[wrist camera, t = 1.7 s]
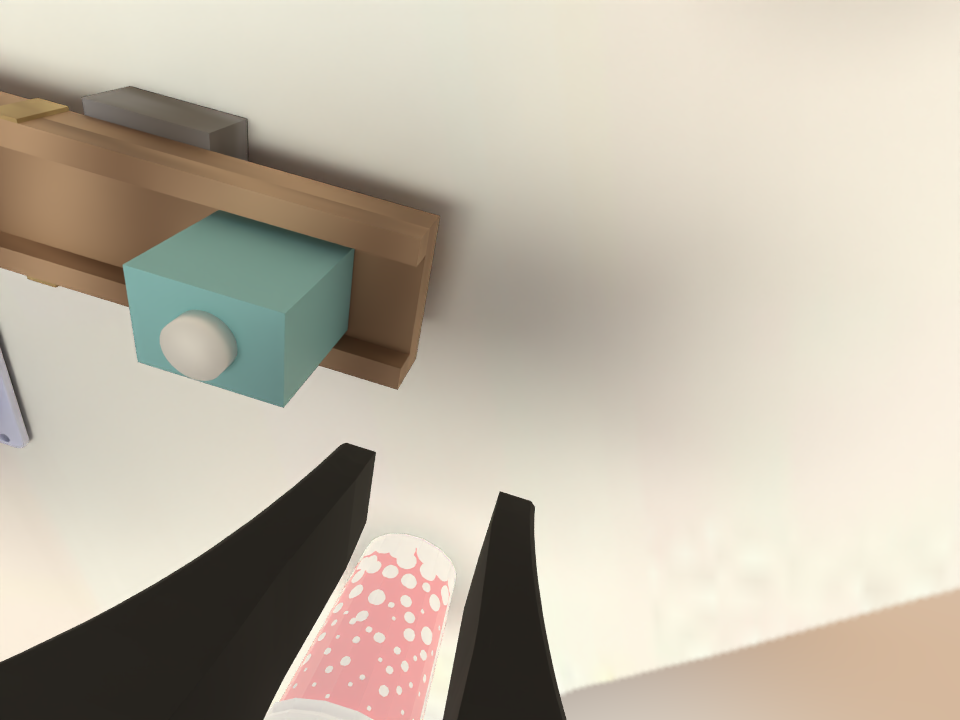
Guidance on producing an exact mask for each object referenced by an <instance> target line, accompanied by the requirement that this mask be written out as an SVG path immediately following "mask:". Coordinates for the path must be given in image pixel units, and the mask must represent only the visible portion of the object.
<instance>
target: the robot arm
mask: <svg viewBox="0 0 960 720" xmlns="http://www.w3.org/2000/svg"><path fill="white" fill-rule="evenodd" d="M0 442H1V443H4V444H7V445H10V446H13V447H16V448H23V447H24V446H26V445H27V444H28V443H29V437H28V434H27V431H26V428H25V425H24V421H23V418H22V415H21V412H20V409H19V406H18V402H17V399H16V396H15V393H14V390H13V386H12V383H11V380H10V377H9V374H8V371H7V367H6V364H5V361H4V358H3V355H2V352H1V348H0ZM375 455H376V452H374V451H371V450H368V449H364V448H361V447H358V446H355V445H352V444H349V443H344V444H342V445H340V446H339V447H338V448H337V449H336V450H335V451H334V452H333V453H332V454H330V455H329V456H328V457H327V458H326V459H325V460H324V461H323V462H322V463H321V464H319V465H318V466H317V467H316V468H315V469H314V470H313V471H311V472H310V473H309V474H308V475H307V476H306V477H304V478H303V479H302V480H301V481H300V482H299V483H297V484H296V485H295V486H294V487H293V488H291V489H290V490H289V491H288V492H286V493H285V494H284V495H283V496H281V497H280V498H279V499H278V500H276V501H275V502H274V503H272V504H271V505H270V506H269V507H267V508H266V509H265V510H264V511H262V512H261V513H260V514H258V515H257V516H256V517H254V518H253V519H252V520H250V521H249V522H248V523H246V524H245V525H243V526H242V527H241V528H239V529H238V530H236V531H235V532H234V533H232V534H231V535H229V536H228V537H227V538H225V539H224V540H222V541H221V542H220V543H218V544H217V545H215V546H214V547H212V548H211V549H209V550H208V551H206V552H205V553H203V554H202V555H200V556H199V557H197V558H196V559H194V560H193V561H191V562H190V563H188V564H186V565H185V566H183V567H182V568H180V569H178V570H177V571H175V572H173V573H172V574H170V575H169V576H167V577H165V578H164V579H162V580H160V581H159V582H157V583H155V584H154V585H152V586H150V587H148V588H147V589H145V590H143V591H141V592H139V593H138V594H136V595H134V596H132V597H131V598H129V599H127V600H125V601H123V602H122V603H120V604H118V605H116V606H115V607H113V608H111V609H109V610H107V611H105V612H103V613H101V614H99V615H98V616H96V617H94V618H92V619H90V620H88V621H86V622H84V623H82V624H80V625H78V626H76V627H74V628H72V629H69V630H67V631H65V632H63V633H61V634H59V635H57V636H55V637H53V638H51V639H49V640H47V641H45V642H43V643H40V644H38V645H36V646H34V647H32V648H30V649H28V650H26V651H24V652H22V653H20V654H17V655H15V656H13V657H11V658H9V659H6V660H4V661H2V662H0V720H264V718H265V715H266V713H267V711H268V709H269V707H270V705H271V702H272V700H273V698H274V696H275V694H276V692H277V691H278V689H279V687H280V685H281V683H282V681H283V679H284V677H285V675H286V673H287V672H288V670H289V668H290V666H291V665H292V663H293V661H294V659H295V658H296V656H297V654H298V652H299V651H300V649H301V647H302V645H303V644H304V642H305V640H306V638H307V637H308V635H309V633H310V631H311V630H312V628H313V626H314V624H315V623H316V621H317V619H318V617H319V616H320V614H321V612H322V610H323V609H324V607H325V605H326V603H327V602H328V600H329V598H330V596H331V594H332V593H333V591H334V589H335V587H336V586H337V584H338V582H339V580H340V578H341V577H342V575H343V573H344V571H345V570H346V567H347V565H348V563H349V561H350V558H351V556H352V554H353V551H354V549H355V547H356V545H357V542H358V540H359V538H360V535H361V533H362V530H363V528H364V526H365V523H366V520H367V513H368V506H369V498H370V491H371V484H372V477H373V469H374V462H375ZM534 513H535V507H534V505H533V503H532V502H531V501H529V500H526V499H522V498H519V497H516V496H513V495H510V494H507V493H503V492H499V496H498V499H497V502H496V505H495V508H494V511H493V514H492V518H491V521H490V524H489V527H488V530H487V533H486V536H485V540H484V543H483V546H482V549H481V552H480V555H479V558H478V562H477V565H476V569H475V572H474V576H473V579H472V583H471V586H470V590H469V593H468V597H467V600H466V604H465V607H464V612H463V617H462V622H461V627H460V632H459V638H458V643H457V648H456V653H455V659H454V664H453V669H452V674H451V680H450V685H449V690H448V696H447V701H446V706H445V711H444V717H443V720H566V716H565V712H564V709H563V705H562V702H561V698H560V694H559V690H558V686H557V682H556V677H555V673H554V669H553V664H552V659H551V654H550V650H549V645H548V640H547V635H546V629H545V624H544V618H543V612H542V605H541V598H540V591H539V585H538V576H537V567H536V555H535V540H534Z"/></svg>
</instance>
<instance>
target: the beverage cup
mask: <svg viewBox="0 0 960 720" xmlns="http://www.w3.org/2000/svg"><path fill="white" fill-rule="evenodd" d="M456 575H457V574H456V571H455V568H454V566H453V563H452V561H451V560H450V559H449V558H448V557H447V556H446V555H445V553H444V552H443V551H442V550H441V549H440V548H438V547H436V546H435V545H433V544H431V543H430V542H428V541H426V540H424V539H422V538H418V537H415V536H411V535H408V534H385V535H382V536H380V537H377V538H375V539H373V541H372V542H371V543H370V544H369V545H368V547H367V548H366V550H365V551H364V553H363V555H362V557H361V559H360V560H359V562H358V564H357V566H356V567H355V569H354V571H353V573H352V574H351V576H350V578H349V580H348V581H347V583H346V585H345V587H344V589H343V590H342V592H341V594H340V596H339V597H338V599H337V601H336V603H335V604H334V606H333V608H332V610H331V611H330V613H329V615H328V617H327V619H326V620H325V622H324V624H323V626H322V627H321V629H320V631H319V633H318V634H317V636H316V638H315V640H314V641H313V643H312V645H311V647H310V649H309V650H308V652H307V654H306V656H305V657H304V659H303V661H302V663H301V664H300V666H299V668H298V670H297V671H296V673H295V675H294V677H293V679H292V680H291V682H290V684H289V686H288V687H287V689H286V691H285V693H284V694H283V696H282V698H281V700H280V701H279V702H275V703H274V704H273V705H272V706H271V708H270V709H269V710H268V711H267V713H266V715H265V718H264V720H423V717H424V713H425V709H426V705H427V700H428V696H429V692H430V687H431V683H432V679H433V675H434V670H435V666H436V662H437V658H438V653H439V649H440V645H441V641H442V636H443V632H444V628H445V624H446V619H447V615H448V611H449V607H450V602H451V598H452V594H453V589H454V585H455V580H456Z"/></svg>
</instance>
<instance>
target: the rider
mask: <svg viewBox="0 0 960 720" xmlns="http://www.w3.org/2000/svg"><path fill="white" fill-rule="evenodd" d="M354 250H355V249H353V248H349V247H346V246H342V245H339V244H336V243H332V242H329V241H325V240H322V239H318V238H315V237H311V236H308V235H305V234H301V233H298V232H294V231H291V230H287V229H284V228H281V227H277V226H274V225H270V224H267V223H263V222H260V221H256V220H253V219H250V218H246V217H243V216H239V215H236V214H232V213H229V212H226V211H222V210H218V211H216V212H214V213H213V214H211V215H209V216H207V217H206V218H204V219H202V220H200V221H199V222H197V223H195V224H193V225H191V226H190V227H188V228H186V229H184V230H183V231H181V232H179V233H177V234H176V235H174V236H172V237H170V238H169V239H167V240H165V241H163V242H162V243H160V244H158V245H156V246H154V247H153V248H151V249H149V250H147V251H146V252H144V253H142V254H140V255H139V256H137V257H135V258H133V259H132V260H130V261H128V262H126V263H125V264H123V271H124V277H125V283H126V290H127V296H128V302H129V309H130V315H131V321H132V328H133V334H134V340H135V347H136V353H137V359H138V362H140V363H143V364H146V365H149V366H153V367H156V368H159V369H162V370H165V371H169V372H172V373H175V374H178V375H181V376H184V377H188V378H191V379H194V380H197V381H200V382H203V383H207V384H210V385H213V386H216V387H219V388H223V389H226V390H229V391H232V392H235V393H238V394H242V395H245V396H248V397H251V398H254V399H258V400H261V401H264V402H267V403H270V404H273V405H277V406H280V407H283V408H284V407H285V405H286V404H287V403H288V402H289V401H290V399H291V398H292V397H293V396H294V394H295V393H296V392H297V391H298V390H299V388H300V387H301V386H302V385H303V383H304V382H305V381H306V380H307V379H308V377H309V376H310V375H311V374H312V373H313V371H314V370H315V369H316V368H317V366H318V365H319V364H320V363H321V362H322V360H323V359H324V358H325V357H326V355H327V354H328V353H329V352H330V351H331V349H332V348H333V347H334V346H335V344H336V343H337V342H338V341H339V340H340V338H341V337H342V336H343V335H344V334H345V332H346V331H347V330H348V319H349V308H350V296H351V285H352V273H353V261H354Z"/></svg>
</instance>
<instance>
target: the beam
mask: <svg viewBox="0 0 960 720" xmlns="http://www.w3.org/2000/svg"><path fill="white" fill-rule="evenodd" d="M82 103H83V108H84V114H85V115H83V114H79V113H76V112H72V111H69V107H68V106H65V105H61V104H58V103H54V102H51V101H47V100H44V99H40V98H34V99H26V98H23V97H19V96H16V95H12V94H9V93H5V92H1V91H0V268H4V269H7V270H10V271H13V272H17V273H20V274H23V275H26V276H27V278H28V279H29V280H33V281H36V282H39V283H42V284H46V285H49V286H52V287H55V288H56V287H58V286H62V287H65V288H69V289H72V290H75V291H78V292H82V293H85V294H88V295H91V296H95V297H98V298H101V299H104V300H108V301H111V302H114V303H117V304H121V305H124V306H127V307H129V302H128V296H127V290H126V283H125V277H124V271H123V264H125V263H126V262H128V261H130V260H132V259H133V258H135V257H137V256H139V255H140V254H142V253H144V252H146V251H147V250H149V249H151V248H153V247H154V246H156V245H158V244H160V243H162V242H163V241H165V240H167V239H169V238H170V237H172V236H174V235H176V234H177V233H179V232H181V231H183V230H184V229H186V228H188V227H190V226H191V225H193V224H195V223H197V222H199V221H200V220H202V219H204V218H206V217H207V216H209V215H211V214H213V213H214V212H216V211H218V210H222V211H226V212H229V213H232V214H236V215H239V216H243V217H246V218H250V219H253V220H256V221H260V222H263V223H267V224H270V225H274V226H277V227H281V228H284V229H287V230H291V231H294V232H298V233H301V234H305V235H308V236H311V237H315V238H318V239H322V240H325V241H329V242H332V243H336V244H339V245H342V246H346V247H349V248H353V249H355V250H354V261H353V273H352V285H351V296H350V308H349V319H348V330H347V331H346V332H345V334H344V335H343V336H342V337H341V338H340V340H339V341H338V342H337V343H336V344H335V346H334V347H333V348H332V349H331V351H330V352H329V353H328V354H327V355H326V357H325V358H324V359H323V360H322V362H321V363H320V364H319V366H322V367H325V368H329V369H332V370H335V371H338V372H342V373H345V374H348V375H351V376H355V377H358V378H361V379H364V380H368V381H371V382H374V383H378V384H381V385H384V386H387V387H391V388H394V389H397V390H398V388H399V387H400V385H401V383H402V381H403V380H404V378H405V376H406V375H407V373H408V371H409V369H410V368H411V366H412V364H413V363H414V361H415V359H416V355H417V349H418V343H419V338H420V332H421V326H422V320H423V314H424V308H425V302H426V296H427V290H428V285H429V279H430V273H431V267H432V261H433V255H434V249H435V243H436V237H437V232H438V226H439V220H440V216H439V215H435V214H432V213H428V212H424V211H421V210H417V209H414V208H410V207H407V206H403V205H400V204H396V203H393V202H389V201H386V200H382V199H379V198H375V197H372V196H368V195H365V194H361V193H358V192H354V191H350V190H347V189H343V188H340V187H336V186H333V185H329V184H326V183H322V182H319V181H315V180H312V179H308V178H305V177H301V176H298V175H294V174H291V173H287V172H283V171H280V170H276V169H273V168H269V167H266V166H262V165H259V164H255V163H252V162H248V146H247V119H245V118H242V117H238V116H235V115H231V114H227V113H224V112H220V111H217V110H213V109H209V108H206V107H202V106H199V105H195V104H192V103H188V102H184V101H181V100H177V99H174V98H170V97H166V96H163V95H159V94H156V93H152V92H148V91H145V90H141V89H138V88H134V87H130V86H129V87H125V88H120V89H116V90H111V91H107V92H103V93H98V94H94V95H90V96H85V97H82Z"/></svg>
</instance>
